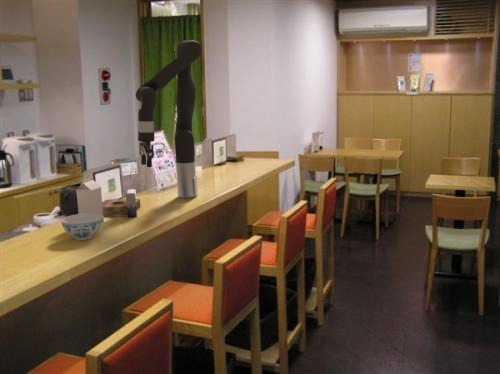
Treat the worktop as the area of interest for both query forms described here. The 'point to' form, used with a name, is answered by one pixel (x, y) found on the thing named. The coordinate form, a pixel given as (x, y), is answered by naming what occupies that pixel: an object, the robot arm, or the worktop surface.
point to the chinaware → (82, 225)
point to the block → (117, 207)
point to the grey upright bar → (131, 205)
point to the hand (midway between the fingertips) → (146, 165)
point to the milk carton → (90, 198)
